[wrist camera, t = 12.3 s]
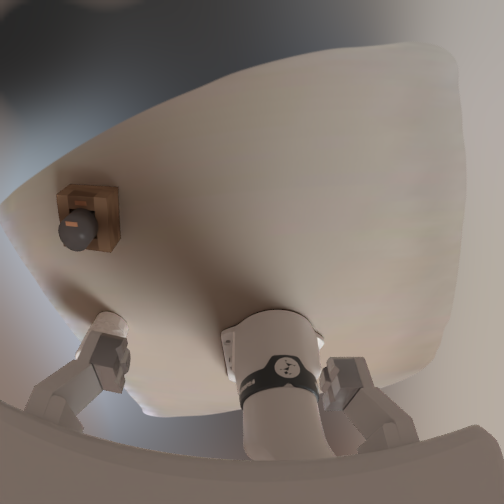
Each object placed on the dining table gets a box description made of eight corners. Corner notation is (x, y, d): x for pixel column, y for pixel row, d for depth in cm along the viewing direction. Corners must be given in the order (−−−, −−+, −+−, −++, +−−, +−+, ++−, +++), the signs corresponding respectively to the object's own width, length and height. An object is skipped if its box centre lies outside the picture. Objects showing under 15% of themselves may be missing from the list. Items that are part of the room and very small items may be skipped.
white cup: (130, 313, 49) (114, 356, 41) (133, 341, 53) (120, 383, 45) (91, 304, 48) (70, 344, 40) (97, 333, 52) (80, 372, 44)
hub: (120, 238, 41) (110, 253, 38) (75, 232, 40) (63, 246, 37) (118, 187, 37) (106, 198, 34) (70, 184, 36) (55, 194, 33)
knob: (108, 231, 39) (91, 253, 34) (80, 228, 39) (61, 249, 34) (105, 200, 37) (86, 220, 32) (77, 198, 36) (55, 216, 31)
